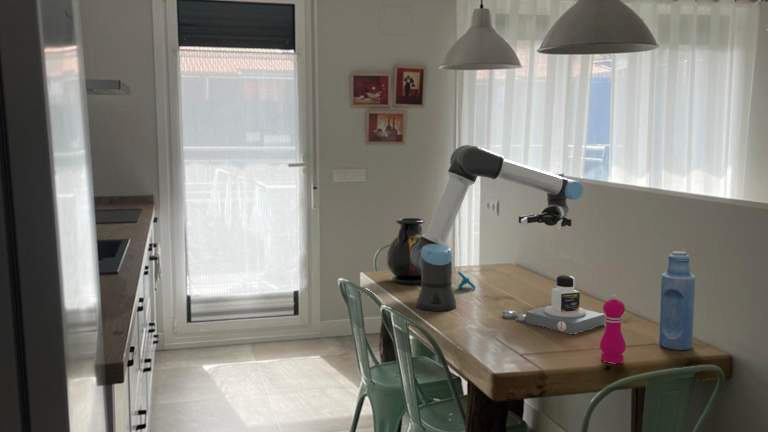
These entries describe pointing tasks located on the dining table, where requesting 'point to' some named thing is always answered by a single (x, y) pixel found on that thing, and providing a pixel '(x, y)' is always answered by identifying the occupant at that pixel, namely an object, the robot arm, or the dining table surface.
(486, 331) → the dining table surface
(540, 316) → the scale
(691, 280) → the bottle
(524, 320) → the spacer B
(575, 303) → the medicine bottle
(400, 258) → the amphora vase
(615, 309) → the pepper mill
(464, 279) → the gear
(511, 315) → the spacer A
